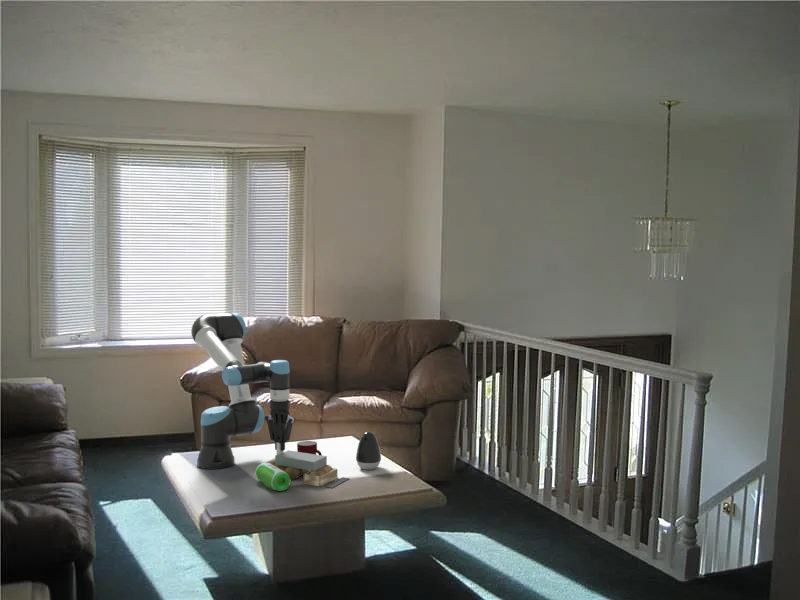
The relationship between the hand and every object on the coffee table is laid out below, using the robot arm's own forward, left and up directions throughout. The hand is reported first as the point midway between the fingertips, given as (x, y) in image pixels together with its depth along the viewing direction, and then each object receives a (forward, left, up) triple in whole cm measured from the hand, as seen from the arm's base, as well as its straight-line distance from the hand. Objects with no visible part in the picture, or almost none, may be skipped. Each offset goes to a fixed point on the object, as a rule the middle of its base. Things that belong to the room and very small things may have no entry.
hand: (280, 458), depth 293 cm
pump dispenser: (+28, +23, -7) cm, 36 cm away
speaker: (+6, -14, -7) cm, 16 cm away
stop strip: (+26, 0, -6) cm, 27 cm away
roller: (+19, 0, -7) cm, 20 cm away
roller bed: (+2, 0, -6) cm, 7 cm away
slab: (+10, 0, -2) cm, 10 cm away
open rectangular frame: (+19, 0, -6) cm, 20 cm away
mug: (+6, +13, -7) cm, 16 cm away
